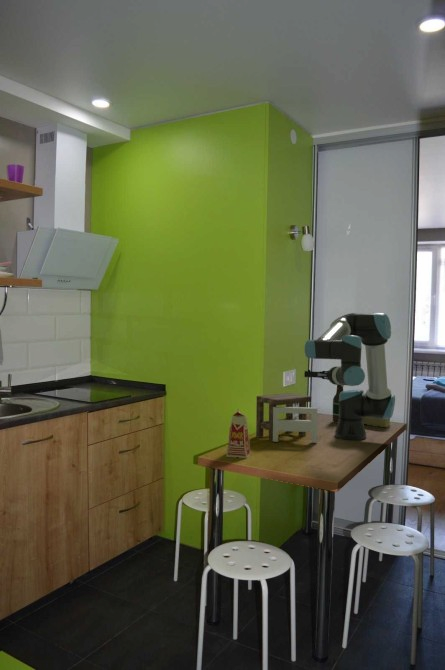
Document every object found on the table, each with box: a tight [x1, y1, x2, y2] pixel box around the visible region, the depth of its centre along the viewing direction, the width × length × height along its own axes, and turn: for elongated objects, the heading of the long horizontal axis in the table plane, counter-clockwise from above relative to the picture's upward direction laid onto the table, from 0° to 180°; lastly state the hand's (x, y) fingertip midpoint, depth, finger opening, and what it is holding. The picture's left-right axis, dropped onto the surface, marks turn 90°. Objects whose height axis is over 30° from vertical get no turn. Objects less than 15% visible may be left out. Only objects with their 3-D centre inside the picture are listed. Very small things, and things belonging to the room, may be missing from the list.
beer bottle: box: [332, 385, 344, 423], centre depth 301 cm, size 8×8×24 cm
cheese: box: [363, 417, 391, 428], centre depth 295 cm, size 22×10×15 cm, turn 60°
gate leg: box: [272, 406, 318, 444], centre depth 249 cm, size 2×20×16 cm, turn 85°
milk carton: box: [225, 408, 251, 459], centre depth 225 cm, size 9×9×20 cm
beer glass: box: [293, 403, 299, 420], centre depth 302 cm, size 7×7×15 cm
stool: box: [255, 392, 312, 442], centre depth 261 cm, size 16×22×20 cm
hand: (319, 375), depth 236 cm, fingers open, 13 cm apart
